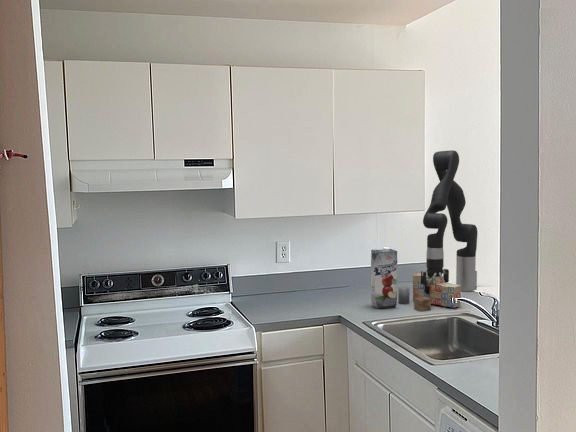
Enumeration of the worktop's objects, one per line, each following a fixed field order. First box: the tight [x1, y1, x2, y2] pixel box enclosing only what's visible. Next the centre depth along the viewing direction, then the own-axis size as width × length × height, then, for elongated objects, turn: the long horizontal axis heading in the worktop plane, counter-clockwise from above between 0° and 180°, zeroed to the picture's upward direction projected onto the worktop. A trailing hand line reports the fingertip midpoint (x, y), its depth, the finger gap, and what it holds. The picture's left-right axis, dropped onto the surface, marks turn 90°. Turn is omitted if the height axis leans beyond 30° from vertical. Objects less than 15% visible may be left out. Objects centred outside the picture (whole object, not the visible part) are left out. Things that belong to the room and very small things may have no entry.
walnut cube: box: [413, 297, 432, 313], centre depth 263 cm, size 5×5×5 cm
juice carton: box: [370, 246, 398, 310], centre depth 268 cm, size 9×10×27 cm
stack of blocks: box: [412, 272, 462, 309], centre depth 272 cm, size 21×6×12 cm, turn 44°
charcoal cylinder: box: [397, 286, 410, 305], centre depth 275 cm, size 5×5×7 cm
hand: (434, 292), depth 272 cm, fingers closed on stack of blocks, 7 cm apart
